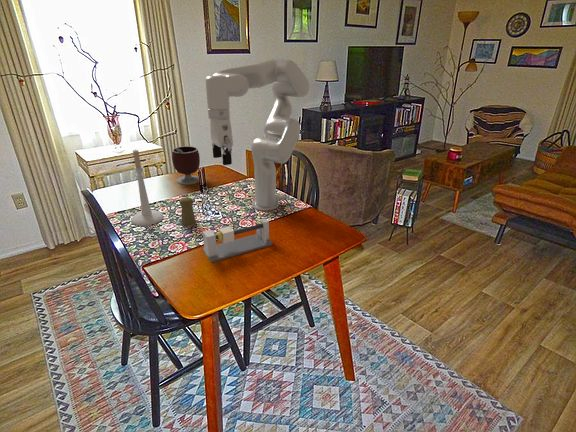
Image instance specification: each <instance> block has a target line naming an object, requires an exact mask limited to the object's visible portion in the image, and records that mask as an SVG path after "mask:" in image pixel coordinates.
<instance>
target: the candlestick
mask: <svg viewBox="0 0 576 432" xmlns="http://www.w3.org/2000/svg"><path fill="white" fill-rule="evenodd" d="M132 153H133V154H132V155H133V160H134V164H135V166H134V167H133V169H135V172H136V175H137V185H138V190H139V191H138V192H139V199H140V201H139V202H140V207H141V208H140V209H141V211H140V212H137V213H136V214H134V215H133V216H132V217H131V219H130V222H131V224H132V225H135V226H138V227H139V226H141V227H145V226H147V225H148V226H153V225H156V224H158V223H160V222H162V221H163V219H164V214H163V213H162V212H160V211H159V210H155V209H151V206H150V201H149V197H148V193H147V189H146V185H145V180H144V176H143V171H144V170H143V168H144V166H143V165H142V164H141V159H140V153H139V150H138V149H134V150H132ZM152 224H153V225H152Z"/></svg>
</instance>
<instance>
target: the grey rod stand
mask: <svg viewBox="0 0 576 432" xmlns="http://www.w3.org/2000/svg"><path fill="white" fill-rule="evenodd" d="M259 221H260V222H259V223H258V224H254V225H251V226H247V227H243V228H240V229H235V230H234V229H233V231H234V236H236V235H240V234H245V233H249V232H251V231H252V232H253V231H256V233H254V234H251V235H247V236H244V237H239V238H236V239H234V241H232V242H228V243H223V242H222V240H223V236H222V234H221V232H219V231H218V232H215V233H214V231H213V230H212V229H208V230H205V231H204V230H203V231H202V237H203V247H202V251H203V253H204V254H205V256H206V257H207V258H208V259H209V262H211V263H214V262H218V261H221V260H224V259H228V258H232V257H234V256H235V257H236V256H238V255H243V254H245V253H249V252H251V251H255V250H260V249H262V248H263V249H264V248H267V247H269V246H272V245H274V244H273V242H272V241H271V239H270V224H269V223H270V221H269V220H268V219H267V218H261V219H260V220H259ZM217 242H218V243H217ZM219 242H222V243H219Z"/></svg>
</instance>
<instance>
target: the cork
mask: <svg viewBox="0 0 576 432" xmlns="http://www.w3.org/2000/svg"><path fill="white" fill-rule="evenodd" d="M193 204H194V201H193V198H191V197H188V196H187V197H183V198H180V200H179V205H180V207H181V214H180V215H181V216H180V217H181V221H180V222H181V226H183V227H191V226H194V225H196V223H197V219H196V216H195V212H194V209H193Z"/></svg>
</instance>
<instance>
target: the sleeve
mask: <svg viewBox="0 0 576 432" xmlns="http://www.w3.org/2000/svg"><path fill="white" fill-rule="evenodd" d="M218 232H221V234H222V236H223V240H222V241H221V242H222V243H228V242H232V241H234V240H235V235H234V229H233V228H232V227H231V226H224V227H221V228H218Z"/></svg>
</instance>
